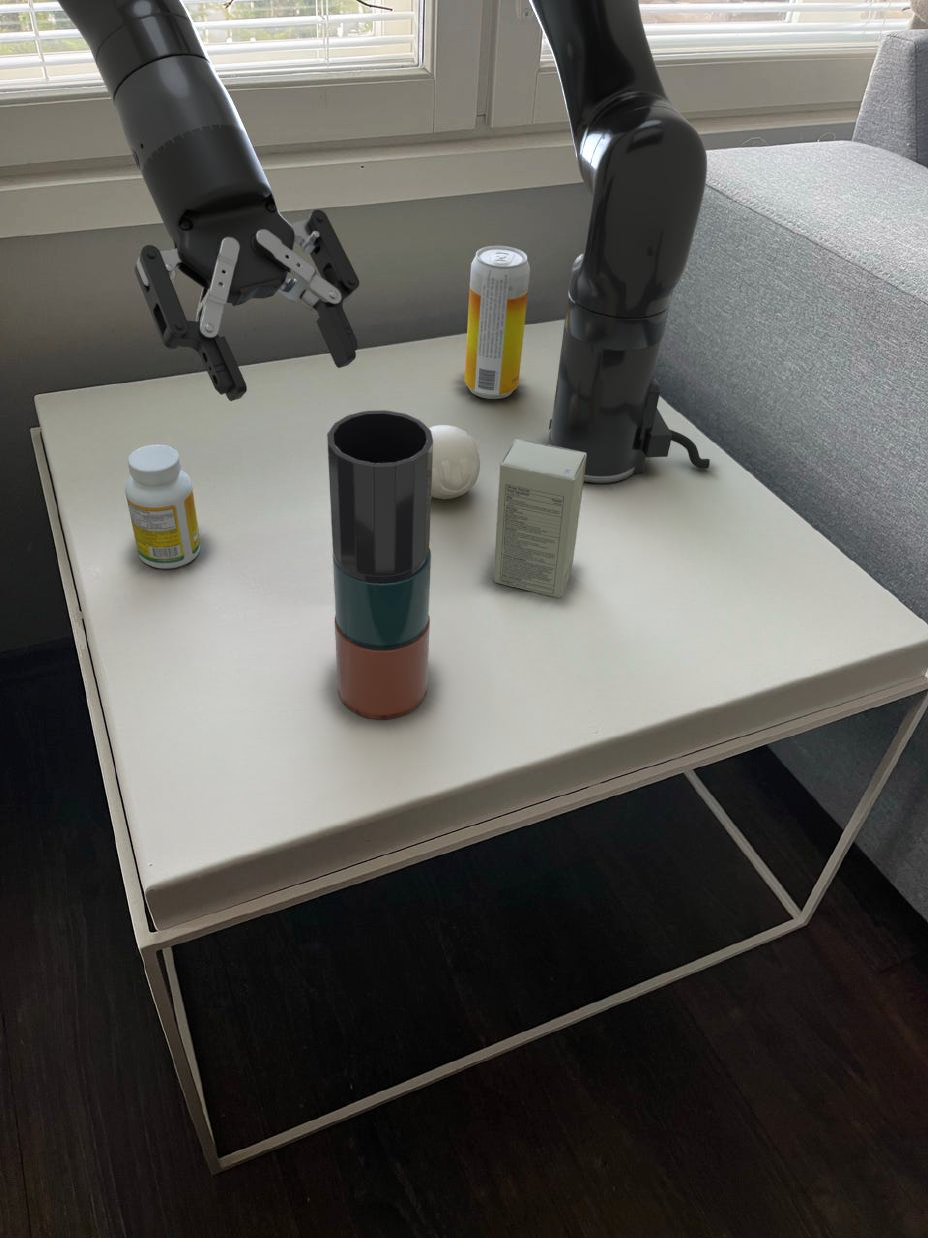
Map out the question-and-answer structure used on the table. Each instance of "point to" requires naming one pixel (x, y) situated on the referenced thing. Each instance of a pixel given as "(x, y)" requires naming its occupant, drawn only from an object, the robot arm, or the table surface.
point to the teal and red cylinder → (382, 643)
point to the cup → (380, 494)
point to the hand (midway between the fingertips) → (295, 379)
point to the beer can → (496, 321)
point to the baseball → (453, 462)
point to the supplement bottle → (162, 507)
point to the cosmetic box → (538, 516)
